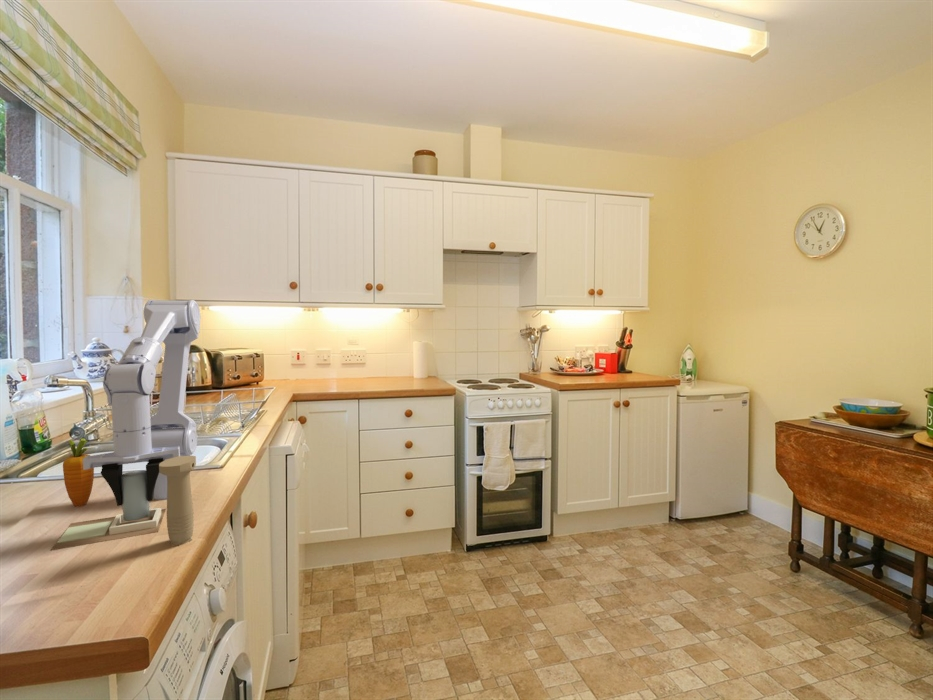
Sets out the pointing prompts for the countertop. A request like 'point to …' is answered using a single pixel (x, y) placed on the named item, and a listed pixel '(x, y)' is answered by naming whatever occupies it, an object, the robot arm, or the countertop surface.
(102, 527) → the pad
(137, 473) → the grey-blue cylinder
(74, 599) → the countertop surface
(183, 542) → the handle
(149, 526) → the cream square frame
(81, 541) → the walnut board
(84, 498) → the carrot
